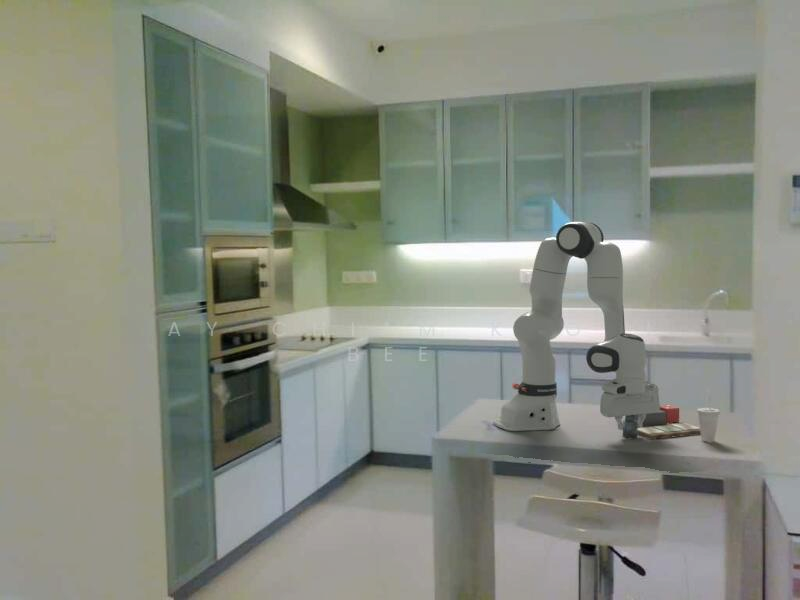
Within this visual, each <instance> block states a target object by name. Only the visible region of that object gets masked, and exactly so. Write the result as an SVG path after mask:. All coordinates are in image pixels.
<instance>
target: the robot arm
mask: <svg viewBox="0 0 800 600" xmlns="http://www.w3.org/2000/svg"><path fill="white" fill-rule="evenodd" d="M604 238H605V236H604V233H603V231H602V229H601V227H599V226H598V225H596V224H595V223H593V222H588V221H583V220H581V221H570V222H567V223H565V224H564V225H562V226H561V227H560V228H559V229H558V230H557V233H556V235H555V237H547V238H545V239H543V240H542V241H541V243H540V244H539V246H538V249H537V252H536V255H535V259H534V264H533V269H532V273H531V279H530V284H529V294H530V296H531V297H530V299H531V310H530V311H526V312H524V313H523V314H521V315H520V316H518V317H517V318H516V320H515V321H514V323H513V327H512V330H513V335H514V337H515V339H516V340H517V341H518V344H519V349H520V353H521V361H522V362H521V363H522V381H521V383H520V384H519V383H517V382H513V383H512V389H514V390H516V391H517V393H516V394H515V395H514V396H513V397H511V398H510V399H509V400H508V401H506V402H505V403H504V404H503V405H502V407H501V410H500V418H494V420H493V424H494V425H495V426H496V427H498V428H500V429H502V430H506V431H508V432H509V431H510V432H524V431H525V432H526V431H545V430H546V431H549V430H555V429H556V427H559V426H560V425H561V421H560V419H559V414H558V406H557V399H556V398H557V396H558V395H557V394H558V392H557V390H558V389H557V385H558V384H557V382H556V364H557V363H556V359H555V357H554V355H553V351H552V348H551V340H554V339H555V338H557V336H559V335H560V334H561V333H562V332H563V329H564V326H565V322H564V318H563V294H564V293H563V292H564V288H565V283H566V276H567V271H568V266H569V263H570V261H571V259H572V257H575V258H578V259H581V260H582V259H584V260H585V262H586V270H587V272H586V273H587V275H586V277H587V279H586V285H587V292H588V297H589V298H590V300H591V301H592V302H593V303H594V304H596V305H597V306H598V307H599V308H600V309H601V311H602V312H603V313H602V314H603V321H604V340H603V341H602V342H600V343H596V344H594V345H592V346H591V347H589V348H588V350H587V352H586V355H585V358H586V363H587V366H588V367H589V368H590V369H591V370H592V371H593V372H595V373H599V374H607V373H612V372H613V373H615V374H616V375H615V376H616V377H615V378H614V379H612V380H610V381H607V382H605V383H603V384H602V386H601V391H603V392H602V394H601V397H600V403H599V406H600V407H599V412H600V414H601V416H603V417H605V418H614V420H615V421H616V424H617V429H618V430H619V431H623V430H624V429H625V424H623V417H625V416H628V415H638V416H639V418H638V421H637V422H638V425H637V428H642V423H643V421H644V419H645V418H646V414H649V413H658V411H659V410H660V406H661V403H660V402H661V401H660V396H659V387H658V385H657V384H655V383H650V384H649V383H646V381H647V380H646V379H647V377H646V371H645V370H646V369H645V367H646V364H647V356H646V355H647V354H646V344H645V340H644V338H642V337H641V336H640V335H637V334H632V333H626V329H625V312H624V310H625V309H624V297H623V295H624V294H623V293H624V292H623V291H624V267H623V257H622V253H621V250H620V249H621V248H620V247H619V246H618V245H616V244H614V243H612V242H606V241H604Z"/></svg>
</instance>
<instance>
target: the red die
mask: <svg viewBox="0 0 800 600" xmlns="http://www.w3.org/2000/svg"><path fill="white" fill-rule="evenodd" d="M660 410H662V411H665V412H666V424H667V423H668V424H674V423H673V422H678V423H680V407H678V406H674V405H671V404H667V405H664V404H663V405H660Z"/></svg>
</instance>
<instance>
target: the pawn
mask: <svg viewBox="0 0 800 600" xmlns="http://www.w3.org/2000/svg"><path fill="white" fill-rule="evenodd" d="M635 420H636V418H635V416H634V415H628V416H624V419H622V423H623V424H625V429H624V430H622V437H623V438H624V437H625V439H629V438H635V439H637V438H638V434H637V425H638V422H637V421H635Z"/></svg>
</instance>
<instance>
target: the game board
mask: <svg viewBox="0 0 800 600" xmlns="http://www.w3.org/2000/svg"><path fill="white" fill-rule="evenodd" d="M638 434H639V435H638ZM691 434H696V435H701V432H700V426H695V425H692V424H690V423H687V422H678V423H668V424H667V423H666V424H665V425H655V426H645V427H642V428H637V435H638V436H641V435H642V436H641V437H643V436H645V437H644V438H646V437H647V438H646V439H648V438H650V439H649V440H656V439H655V438H660V439H666V438H665V437H669V438H673V437H672V436H678V437H681V436H680V435H687V436H692V435H691Z"/></svg>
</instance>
